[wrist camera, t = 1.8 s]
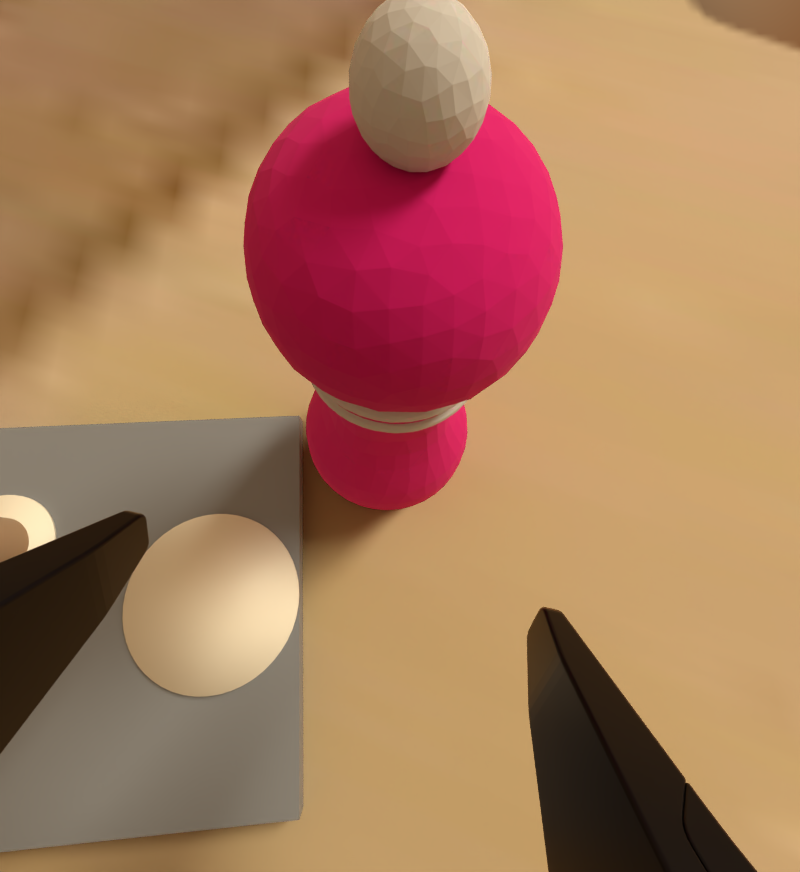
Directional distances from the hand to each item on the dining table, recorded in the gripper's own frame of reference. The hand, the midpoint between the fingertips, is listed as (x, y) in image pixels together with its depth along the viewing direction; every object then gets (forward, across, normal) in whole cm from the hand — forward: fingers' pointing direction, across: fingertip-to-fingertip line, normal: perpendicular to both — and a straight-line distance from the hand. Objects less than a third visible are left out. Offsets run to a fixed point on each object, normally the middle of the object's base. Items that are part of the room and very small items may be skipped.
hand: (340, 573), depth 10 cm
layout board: (+6, +11, +12) cm, 17 cm away
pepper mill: (+14, 0, +5) cm, 15 cm away
